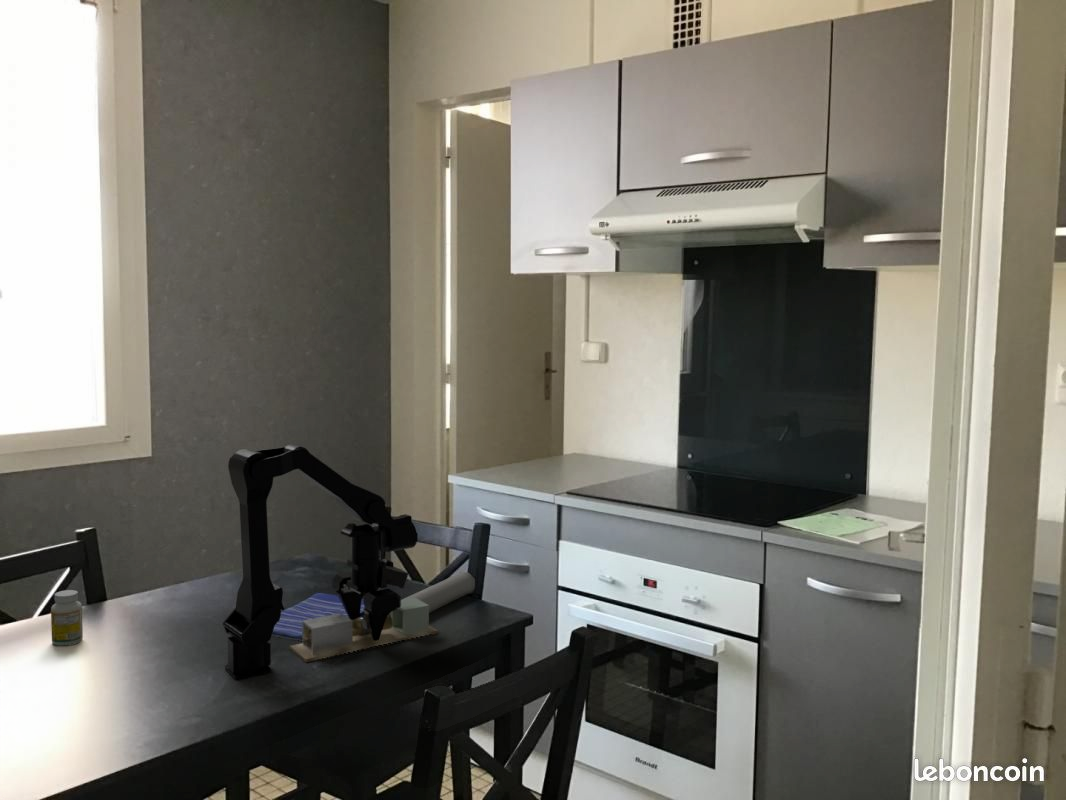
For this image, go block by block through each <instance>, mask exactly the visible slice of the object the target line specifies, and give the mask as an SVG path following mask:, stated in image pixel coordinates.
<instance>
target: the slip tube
mask: <svg viewBox="0 0 1066 800" xmlns="http://www.w3.org/2000/svg"><path fill="white" fill-rule="evenodd" d="M352 621H353V637H354V636H364V635H369V634H371V633H370V629H369V626H368V623H367V620H366V617H365V616H364V617H359V618H356V619H354V620H352ZM391 628H392V618H391V613H389V614H388V616H387V618H386V620H385V623H384V626H383V629H382V631H383V630H387V629H391ZM309 637H310V641H311V643H312V630H311V629H310V631H309Z"/></svg>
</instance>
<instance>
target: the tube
mask: <svg viewBox="0 0 1066 800" xmlns="http://www.w3.org/2000/svg"><path fill="white" fill-rule="evenodd" d="M475 581H476V579H475V578H474V577H473V576H472V575H471V574H470V573H469V572H466V571H462V570H461V571H459V573H457V574H455V575H453V576H451V577H449V578H446V579H444V580H442V581H439V582H437V583H436V584H433V585H430V586H429V587H426V588H424V589H423V590H421V591H420V590H419V591H418V592H415V593H414V594H411V595H409V596H406V597H405V598H401V600H404V599H409V598H416V599H418V600H420V601H422V602H424V603H426V604H427V605H429V614H430V613H432V612H434V611H436V609H437V610H438V608H439V609H440V607H441V608H442V606H443V607H445V606H447V605H448V603H449V602H451V601H453V600H455V599H457V600H458V598H459V597H461V598H463V597H465V596H467V595H471V594H472V592H473V591H474V590H475V587H476V586H475V585H476V583H475ZM461 595H464V596H463V597H462V596H461ZM459 599H460V598H459ZM455 601H456V600H455ZM453 602H454V601H453ZM451 603H452V602H451ZM446 604H447V605H446ZM449 604H450V603H449ZM444 605H445V606H444Z"/></svg>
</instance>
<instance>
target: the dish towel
mask: <svg viewBox="0 0 1066 800" xmlns="http://www.w3.org/2000/svg"><path fill="white" fill-rule="evenodd" d="M364 608H365V606H364V598H362V600H361V610H360V617H364V616H365V613H364V610H363V609H364ZM340 613H342V614H343V615H345V616H346V617H348V615H347V613H346V611H345V609H344V607H343V605H342V603H341V601H340V599H339V597H338V595H337V594H336V595H335V594H330V593H321V592H316V593H315V594H312V596H310V597H308V598H307V599H305V600H303V601H300V602H298V603H297V604H295V605H293V606H290V607H288V608H286V609H284V610H281V617H280V620H279V621H278V622H277V623H276V625H275V626H274V629H273V632H272V636H271V637H277V638H281V639H288V640H292V639H293V641H298V640H299V642H302V621H303V620H308V619H314V618H319V617H324V616H329V615H334V614H340ZM348 618H349V617H348Z"/></svg>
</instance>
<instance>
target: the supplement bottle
mask: <svg viewBox="0 0 1066 800" xmlns="http://www.w3.org/2000/svg"><path fill="white" fill-rule="evenodd" d="M78 599H79V592H78V591H77V590H72V589H67V590H66V589H65V590H61V591H58V592H55V593H54V602H55V603H54V604H52V606H51V608H50V621H51V625H50V627H51V628H50V629H51V643H52V644H53V645H54V646H58V647H64V646H72V645H76V644H78V643H80V642H81V641H82V640H83V638H84V636H83V634H84V633H83V627H84V626H83V605H82V603H81V602H80V601H78Z"/></svg>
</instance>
